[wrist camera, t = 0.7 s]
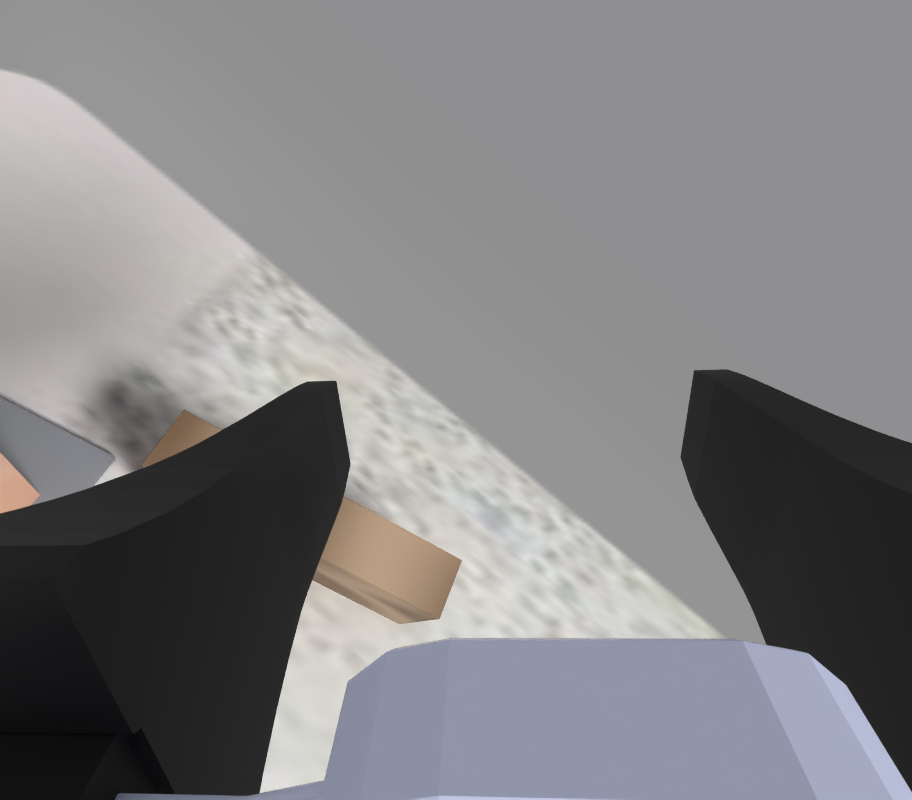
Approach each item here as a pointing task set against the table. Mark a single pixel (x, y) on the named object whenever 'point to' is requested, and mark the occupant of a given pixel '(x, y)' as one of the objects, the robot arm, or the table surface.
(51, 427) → the mat
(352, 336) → the table surface
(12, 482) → the block
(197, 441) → the bar
